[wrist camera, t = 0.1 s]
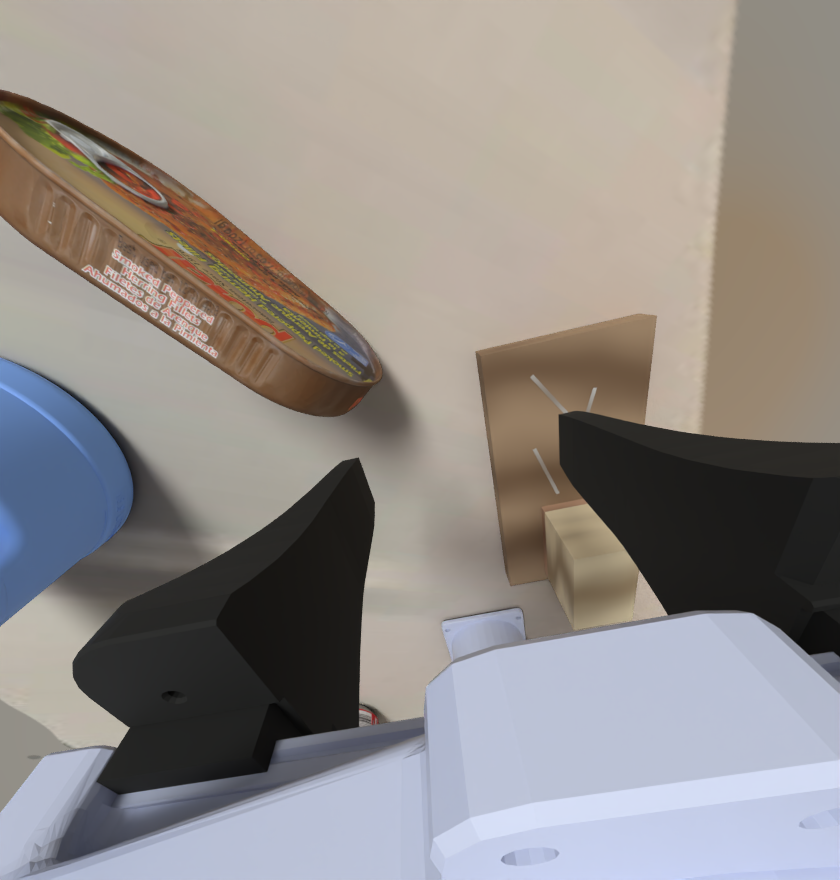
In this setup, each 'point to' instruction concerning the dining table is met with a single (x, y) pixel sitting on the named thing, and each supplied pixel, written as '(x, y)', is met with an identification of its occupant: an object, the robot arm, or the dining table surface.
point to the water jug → (52, 485)
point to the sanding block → (587, 566)
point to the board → (553, 418)
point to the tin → (175, 261)
